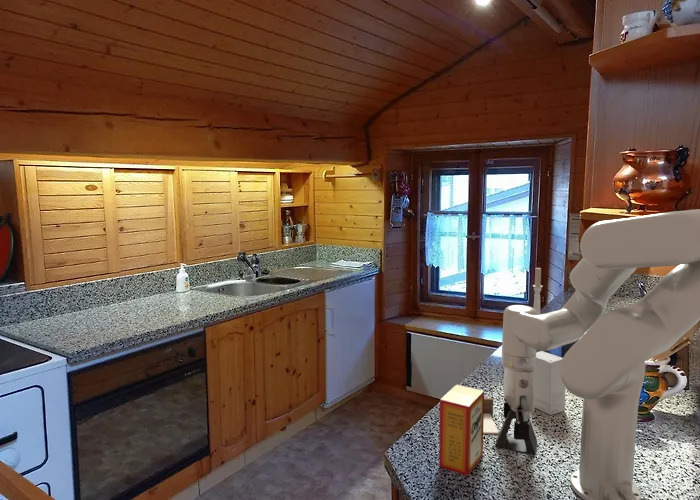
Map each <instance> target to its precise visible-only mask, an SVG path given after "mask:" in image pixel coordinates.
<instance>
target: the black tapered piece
mask: <svg viewBox="0 0 700 500" xmlns="http://www.w3.org/2000/svg"><path fill="white" fill-rule="evenodd" d="M520 406H521V404H520ZM509 409H510V410H509V412H508V415H507V417H506V418H504V421H503V424H502V426H501V428H500V430H499V431H498V432H499V434H497V439H496V441H495V445H494V447H495V448H497V449H499V450H500V449H501V450H506V451H511V452H514V451H515V453H520V454H526V455H531V456H536V452H537V446H538V439H537V435H536V432H535V430H534V428H533V425H532V422H531V420H530V424H529V439H528V440H516V439H514V436H511V435H508V434H509V433H508V432H509V430H510V427H511V423H512V421H513V419H512V418H513V417H515V412H514V411H513V410H512V409H511V407H510V406H509ZM517 409H522V407H518V408H517ZM520 416H522V413H519V418H520Z"/></svg>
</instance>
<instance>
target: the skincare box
mask: <svg viewBox="0 0 700 500" xmlns="http://www.w3.org/2000/svg"><path fill="white" fill-rule="evenodd" d="M562 359H563V357H561V356H558V355H555V354H552V353H549V352H547V351H540V350H539V351H536V367H535V369H533V374H534V409H535V408H536V409H537V410H538V411H539V410H540V411H541V412H543V413H545V414H547V415H549V416H551V415H552V416H553V415H555V414H560V413H562V412H563V413H564V412H565V410H566V387H565V386H564V384H563V382H562V379H561V376H560V365H561V361H562Z"/></svg>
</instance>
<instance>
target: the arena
mask: <svg viewBox="0 0 700 500" xmlns="http://www.w3.org/2000/svg"><path fill="white" fill-rule="evenodd" d="M484 414H494V398H493V397H484Z"/></svg>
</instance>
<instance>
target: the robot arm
mask: <svg viewBox="0 0 700 500" xmlns="http://www.w3.org/2000/svg"><path fill="white" fill-rule="evenodd" d="M579 249H580V250H579V251H580V253H581V257H582V258H581V259H580V261H578V263H577V264H576V265H575V267H573V269H572V270H571V271H570V272H569V273H570V274H569V281H570V284H571V285H572V287H573V288H574V289H575V290H574V293H573V294H572V295H571V297H570V298H569V299H568V301H566V302H565V304H564V305H563V306H562V307H561V308H560V309H558V310H553V311H550V312H545V313H540V314H539V315H538V313H537V311H536V310H535V309H534V308H533V306H532V307H531V306H529V305H523V304H513V305H508V306H507V307H505V309H504V310H503V317H502V318H503V319H502V336H501V337H502V340H501V341H502V342H501V343H502V344H501V365H502V366H503V367H504V371H503V382H502V383H503V388H502V389H503V395H504V396H503V399H504V400H503V414H502V415H503V418H504V419H506V417H507V415H508V412H509V410H510V409H509V406H510V407H511V409H512V410H513V411H514V412H515V417H513V418H512V420H513V419H514V420H515V421H514V424H513V437H514V439H516V440H528V439H529V424H530V421H531V417H530V416H531V413H533V412H534V411H535V407H534V374H533V369H535V367H536V352H537V351H539V352H540V351H544V352H547V351H548V352H549V351H552V350H554V349H556V348H560V347H563V346H565V345H569V344H572V343H574V344H572V346H571V347H569V349H568V350H567V351H566V352H565V354H564V355H563V357H562V358H563V359H562V361H561V365H560V376H561V379H562V382H563V384H564V386H565V389H567V390H568V392H569V393H570V394H572V395H574V396H576V397H578V398H579V399H583V402H582V412H581V427H580V428H581V431H580V432H581V433H580V448H579V450H580V451H579V469H577V470H575V471H573V472H572V474H571V476H570V481H569V482H570V486H571V489H572V490H573V492H574V493H576V495H577V496H578V497H580V498H582V499H583V500H642V493H641V490H640V489H639V487H638V486H637V485H636V484H635V483H634V468H635V454H636V452H635V451H636V438H637V437H636V436H637V427H638V426H637V423H638V413H639V402H640V397H641V391H642V387H643V384H644V381H645V380H644V379H645V375H646V374H645V373H646V362H645V361H648V360H649V359H652V358H654V357H656V356H659V355H662V354H663V353H666V352H667V351H668V350H670V349H671V348H672V347H673V346H674V345H675V344H676V343H677V341H679V340H680V339H681V338H682V337H683V336H684V335H685V334H686V333H688V331H690V330H691V329H692V328H693V327H694V326H695V325H696V324H697V323H699V321H700V208H698V209H697V208H696V209H688V210H679V211H678V210H675V211H669V212H661V213H655V214H654V213H653V214H648V215H643V216H642V215H641V216H635V217H628V218H618V219H607V220H601V221H597V222H595V223H594V224H591V225H590V226H589V227H588V228H587V229H586V230H585V231H584V233H583V235H582V236H581V238H580V243H579ZM660 267H673V269H672V270H670V271H669V272H668V273H667V274H666V275H664V276H663V277H662V278H661V279H660V280H659V281H658V282H657V284H655V285H654V286H653V287H652V289H650V290H649V291H648V292H647V293H646V294H645V295H644V296H643V297H642V298H640V299H639V300H638V301H635V302H633V303H631V304H628V305H625V306H621V307H618V308H615V309H612V310H610V311H608V312H607V313H605V311H606V308H607V305H608V303H609V299H610V298H611V297H612V296H613V295H614V294H615V293H616V292H617V290H618V289H619V288H620V287H621V286H622V285H623V284H624V283H625V282H626V280H628V278H630V276H631V275H632V274H634V273H635V271H636V270H637V269H641V268H660ZM604 313H605V314H604ZM520 404H521V406H520ZM518 407H522V409H517V408H518ZM519 413H522V416H520V418H519Z"/></svg>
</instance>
